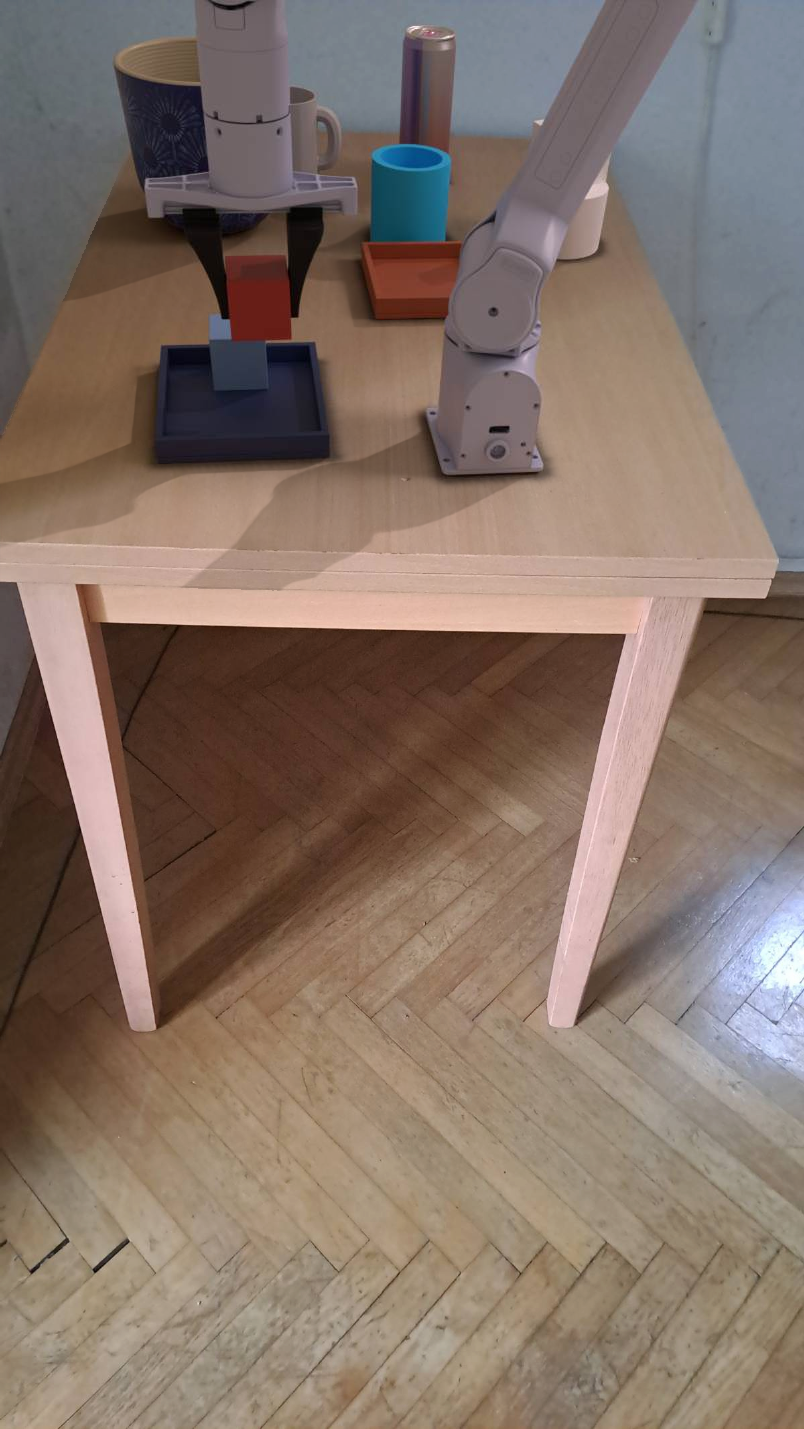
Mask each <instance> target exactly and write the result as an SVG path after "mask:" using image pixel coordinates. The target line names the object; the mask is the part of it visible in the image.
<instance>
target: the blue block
mask: <svg viewBox="0 0 804 1429" xmlns="http://www.w3.org/2000/svg"><path fill="white" fill-rule="evenodd" d="M266 343H267V340H266V341H232V340H231V329H230V319H228V320H223V319H221V313H220V314H217V313H215V314H211V313H210V314H208V344H209V345H210V355H211V364H212V374H213V384H214V391H227V390H263V389H268V374H267V357H266Z"/></svg>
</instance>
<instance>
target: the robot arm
mask: <svg viewBox="0 0 804 1429" xmlns="http://www.w3.org/2000/svg"><path fill="white" fill-rule="evenodd" d="M698 2H699V0H605V1H604V3H603V5H602V7H601V9H600V11H599V12H598V14H597V16H596V18H595V19H594V22H593V24H592V26H591V28H590V30H589V32H588V33H587V36H586V37H585V39H584V42H583V43H582V46H581V48H580V49H579V52H578V54H577V55H576V57H575V59H574V61H573V63H572V65H571V67H570V69H569V71H568V72H567V75H566V76H565V78H564V81H563V82H562V84H561V86H560V88H559V90H558V91H557V94H556V96H555V98H554V99H553V102H552V103H551V106H550V108H549V109H548V111H547V113H546V116H545V117H544V121H543V123H542V125H541V127H540V129H539V131H538V133H537V135H536V137H535V139H534V141H533V143H532V145H531V144H530V146H529V148H528V150H527V153H526V154H525V157H524V158H523V160H522V162H521V164H520V166H519V168H518V170H517V172H516V174H515V176H514V178H513V179H512V180H511V182H510V183H509V184H508V185H507V186H506V188H505V189H504V190H503V192H502V193H501V195H500V196H499V199H498V200H497V202H496V204H495V206H494V207H493V209H492V211H490V213H489V214H488V215H487V216H486V217H485V218H484V219H481V220H480V221H479V222H477V223H476V224H475V225H474V226H473V227H472V228H470V229H469V230H468V232H467V234H466V235H465V237H464V238H463V240H462V241H463V243H462V246H461V249H460V255H459V268H458V273H457V277H456V282H455V285H454V287H453V288H452V291H451V295H450V298H449V305H448V310H449V314H448V315H447V317H446V318H444V328H443V340H442V353H441V366H440V379H439V392H438V393H439V394H438V404H437V405H438V406H431V407H426V408H425V418H426V421H427V424H428V428H429V431H430V435H431V438H432V441H433V446H434V448H435V453H436V456H437V459H438V462H439V466H440V469H441V473H443V474H444V475H446V476H459V475H462V476H463V475H485V474H508V473H509V474H512V473H536V472H537V473H538V472H541V471H543V470H544V462H543V460H542V457H541V454H540V453H539V450H538V448H537V445H536V440H537V434H538V427H539V421H540V414H541V408H542V391H541V388H540V385H539V382H538V379H537V376H536V375H537V374H536V370H537V364H538V363H537V362H538V355H539V350H540V349H539V348H540V343H541V342H540V341H541V336H542V323H541V320H540V319H539V318H540V317H539V316H540V310H541V297H542V296H541V295H542V291H543V289H544V287H545V285H546V282H547V280H548V278H550V275H551V273H552V272H553V269H554V267H555V264H556V262H557V260H558V259H557V257H558V254H559V251H560V248H561V246H562V243H563V240H564V237H565V235H566V232H567V230H568V227H569V225H570V223H571V221H572V220H573V218H574V216H575V215H576V213H577V211H578V209H579V208H580V206H581V204H582V202H583V201H584V199H585V197H586V195H587V194H588V192H589V190H590V188H591V187H592V185H593V183H594V181H595V180H596V178H597V176H598V174H599V173H600V171H601V169H602V167H603V166H604V164H605V162H606V160H607V159H608V157H609V155H610V153H611V154H612V152H613V150H614V148H615V146H616V145H617V143H618V141H619V140H620V137H621V136H622V134H623V133H624V131H625V130H626V127H627V126H628V124H629V122H630V121H631V118H632V117H633V116H634V113H635V112H636V110H637V109H638V107H639V105H640V103H641V102H642V100H643V98H644V96H645V94H646V93H647V91H648V89H649V87H650V85H651V84H652V82H653V80H654V78H655V77H656V75H657V73H658V72H659V70H660V68H661V67H662V65H663V63H664V61H665V59H666V58H667V56H668V54H669V52H670V50H672V47H673V46H674V43H675V42H676V40H677V38H678V37H679V35H680V33H681V31H682V30H683V28H684V26H685V24H686V23H687V20H688V19H689V17H690V16H691V14H692V12H693V11H694V9H695V7H696V6H697V4H698ZM193 4H194V13H195V14H194V15H195V25H196V26H195V36H196V39H197V50H198V61H199V72H200V82H201V93H202V104H203V111H204V122H205V133H206V144H207V155H208V165H209V172H204V173H197V174H190V175H182V176H175V177H166V178H146V179H145V188H144V190H145V195H144V196H145V203H146V204H145V205H146V211H147V217H148V218H149V219H161V218H162V217H164V216H165V214H183V219H184V230H183V232H184V235H185V238H186V239H187V242H188V244H189V246H190V247H191V249H192V250H193V251H194V253H195V255H196V257H197V258H198V260H199V262H200V263H201V266H202V267H203V269H204V272H205V273H206V275H207V277H208V278H207V279H208V280H209V282H210V285H211V288H212V290H213V293H214V295H215V299H216V302H217V304H218V308H219V313H220V314H221V319H223V320H228V319H230V317H229V306H228V295H227V284H226V265H225V258H224V251H223V239H222V234H221V224H220V213H269V214H283V213H284V214H285V225H286V241H287V242H286V243H287V244H286V246H287V269H288V275H289V285H290V308H291V319H299V317H300V306H301V298H302V294H303V289H304V285H305V282H306V279H307V275H308V272H309V269H310V266H311V264H312V261H313V259H314V257H315V254H316V252H317V250H318V248H319V246H320V244H321V243H322V240H323V237H324V234H325V233H324V232H325V222H324V214H323V213H341V215H342V216H345V217H349V216H350V217H351V216H353V217H354V216H357V215H358V185H357V181H356V178H355V176H337V175H325V174H319V173H318V174H309V173H301V172H293V165H292V138H291V112H290V86H291V85H290V62H289V61H290V60H289V39H288V38H289V33H288V27H287V25H286V8H285V7H286V6H285V4H286V3H285V0H193ZM162 219H163V218H162Z"/></svg>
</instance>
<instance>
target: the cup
mask: <svg viewBox="0 0 804 1429" xmlns="http://www.w3.org/2000/svg"><path fill="white" fill-rule="evenodd" d="M290 112H291V138H292V165H293V172H301V173H309V174H318V175H319V172H320V171H326V170H329V169H331V168H332V167H333V166H334V165H335V164H336V163H337V161H338V160H339V157H340V155H341V151H342V145H343V144H342V143H343V140H342V139H343V138H342V137H343V134H342V128H341V123H340V122H339V120H338V117H337V115H336V114H335V113H334V112H333V111H332V110H331V109H330V108H328V107H326V106H323V105H318V95H317V93H316V92H315V91H313V90H312V89H308V88H305V87H303V86H295V85H290ZM318 122H319V123H323V124H324V127H325V128H326V132H327V133H326V134H327V146H326V147H327V148H326V150H325V153H323V155H319V131H318Z"/></svg>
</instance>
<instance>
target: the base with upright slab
mask: <svg viewBox="0 0 804 1429" xmlns="http://www.w3.org/2000/svg"><path fill="white" fill-rule="evenodd" d="M544 119H545V118H544ZM544 119H537V120H534V121H533V124H532V132H531V139H530V140H531V141H530V146H531V145H532V143H533V141H534V139H535V137H536V135H537V133H538V131H539V129H540V127H541V125H542V123H543V121H544ZM611 155H612V152H611V153H610V155H609V157H608V159H607V160H606V162H605V164H604V166H603V167H602V169H601V171H600V173H599V174H598V176H597V178H596V180H595V181H594V183H593V185H592V187H591V188H590V190H589V192H588V194H587V195H586V197H585V199H584V201H583V202H582V204H581V206H580V208H579V209H578V211H577V213H576V215H575V216H574V218H573V220H572V221H571V223H570V225H569V227H568V230H567V232H566V235H565V237H564V240H563V243H562V246H561V248H560V251H559V254H558V257H557V259H556V260H577V259H578V260H579V259H584V258H586V257H590V256H592V255H593V254H595V253H596V252H597V250H598V249H599V244H600V239H601V233H602V228H603V224H604V219H605V218H604V217H605V211H606V206H607V201H608V195H609V190H610V188H609V184H608V183H607V177H608V173H609V172H608V171H609V166H610V160H611Z"/></svg>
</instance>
